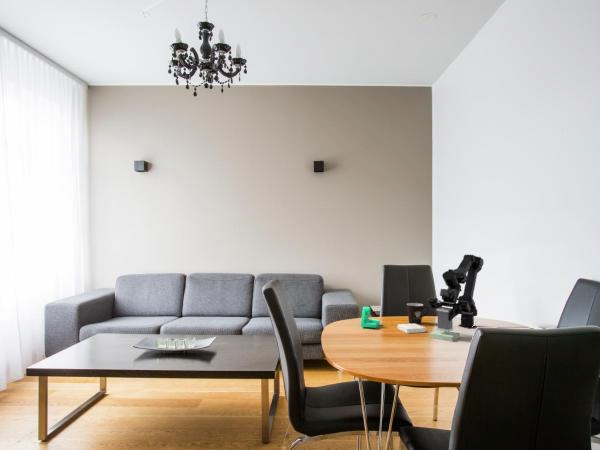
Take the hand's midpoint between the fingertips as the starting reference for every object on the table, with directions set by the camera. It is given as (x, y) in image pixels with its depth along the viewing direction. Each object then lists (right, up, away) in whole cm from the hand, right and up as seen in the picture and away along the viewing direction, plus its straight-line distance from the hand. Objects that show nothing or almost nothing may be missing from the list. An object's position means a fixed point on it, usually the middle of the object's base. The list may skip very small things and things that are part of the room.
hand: (443, 319), depth 183 cm
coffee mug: (-3, -10, +30) cm, 32 cm away
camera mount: (-30, -10, +23) cm, 39 cm away
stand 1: (-11, -9, +14) cm, 20 cm away
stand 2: (+1, -9, +1) cm, 9 cm away
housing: (+1, -5, +1) cm, 5 cm away
